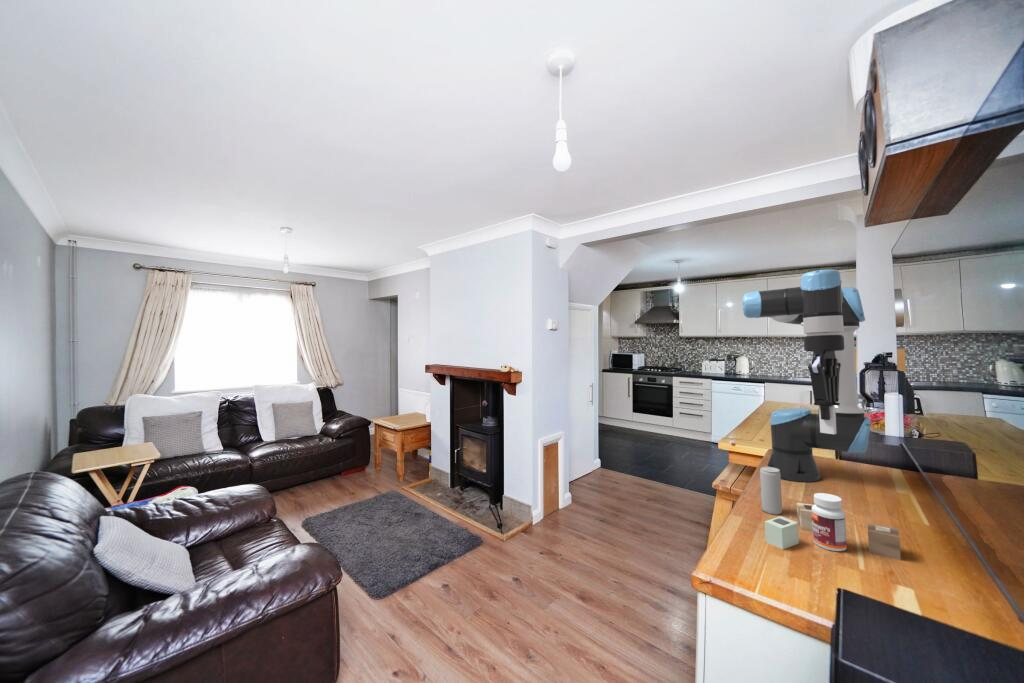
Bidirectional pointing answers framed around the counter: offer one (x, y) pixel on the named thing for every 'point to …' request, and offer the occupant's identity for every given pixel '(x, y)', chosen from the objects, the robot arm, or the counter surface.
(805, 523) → the beech block
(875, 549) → the walnut block
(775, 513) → the beverage can
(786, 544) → the sage block
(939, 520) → the counter surface
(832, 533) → the pill bottle
